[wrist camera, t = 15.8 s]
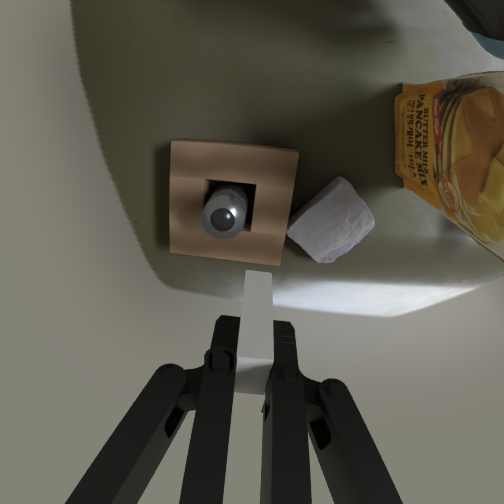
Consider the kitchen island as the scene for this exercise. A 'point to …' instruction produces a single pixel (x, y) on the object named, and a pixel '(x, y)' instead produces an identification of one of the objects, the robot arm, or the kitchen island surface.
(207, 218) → the cylinder
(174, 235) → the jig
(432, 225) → the kitchen island surface
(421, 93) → the pancake mix bag
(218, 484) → the robot arm
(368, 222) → the stone block
